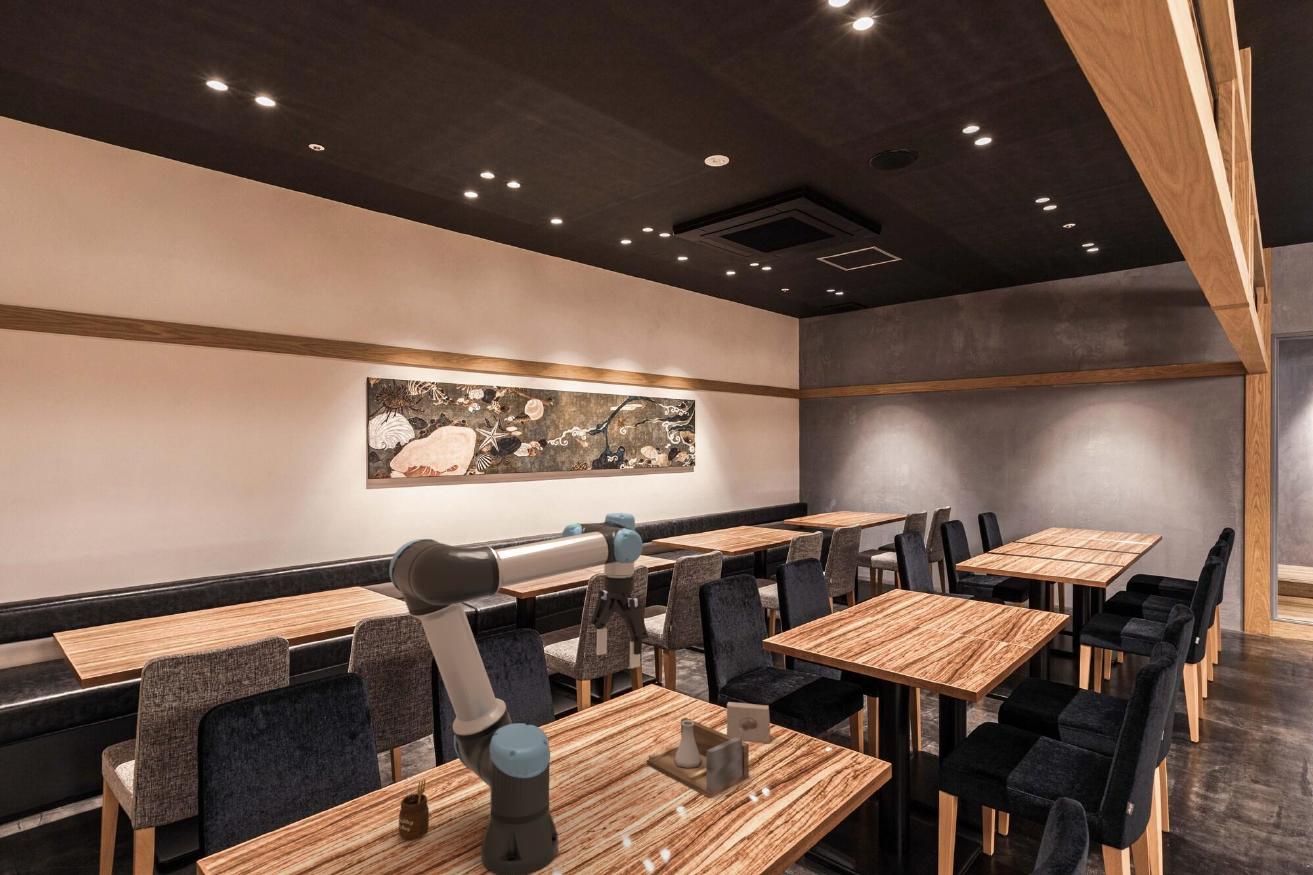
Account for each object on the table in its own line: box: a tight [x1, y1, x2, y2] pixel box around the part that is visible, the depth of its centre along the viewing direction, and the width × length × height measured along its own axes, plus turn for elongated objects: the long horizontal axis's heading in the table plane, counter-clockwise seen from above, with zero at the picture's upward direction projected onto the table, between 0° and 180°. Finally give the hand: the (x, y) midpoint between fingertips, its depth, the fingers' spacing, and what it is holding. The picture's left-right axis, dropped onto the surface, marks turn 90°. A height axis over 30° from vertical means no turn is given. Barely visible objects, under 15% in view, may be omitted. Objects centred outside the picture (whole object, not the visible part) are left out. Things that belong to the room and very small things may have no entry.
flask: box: [674, 720, 702, 768], centre depth 167 cm, size 7×7×10 cm
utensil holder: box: [398, 776, 430, 841], centre depth 138 cm, size 6×6×12 cm
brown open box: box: [646, 717, 750, 799], centre depth 164 cm, size 14×22×10 cm, turn 42°
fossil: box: [726, 701, 772, 744], centre depth 183 cm, size 12×4×10 cm, turn 78°
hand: (617, 660), depth 164 cm, fingers open, 13 cm apart
